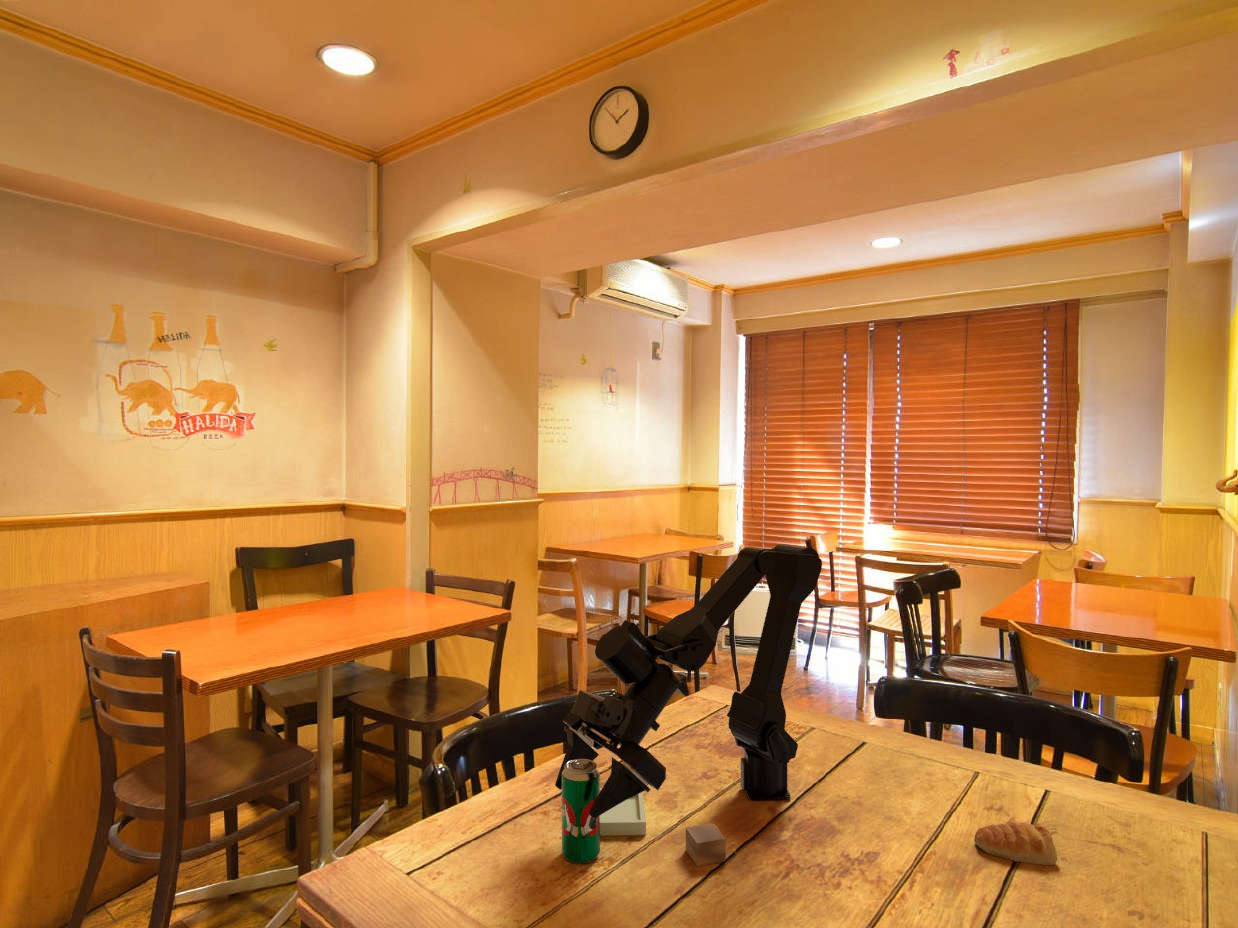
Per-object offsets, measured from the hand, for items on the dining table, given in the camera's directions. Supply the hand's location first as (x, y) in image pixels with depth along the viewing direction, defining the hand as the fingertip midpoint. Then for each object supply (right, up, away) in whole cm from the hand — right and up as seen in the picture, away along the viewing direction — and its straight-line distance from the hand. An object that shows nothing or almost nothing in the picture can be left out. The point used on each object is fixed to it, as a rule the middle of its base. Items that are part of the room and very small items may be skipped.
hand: (573, 801), depth 94 cm
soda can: (+1, -8, +1) cm, 8 cm away
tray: (+4, -7, +11) cm, 14 cm away
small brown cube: (+17, -7, 0) cm, 19 cm away
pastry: (+59, -8, +1) cm, 60 cm away
